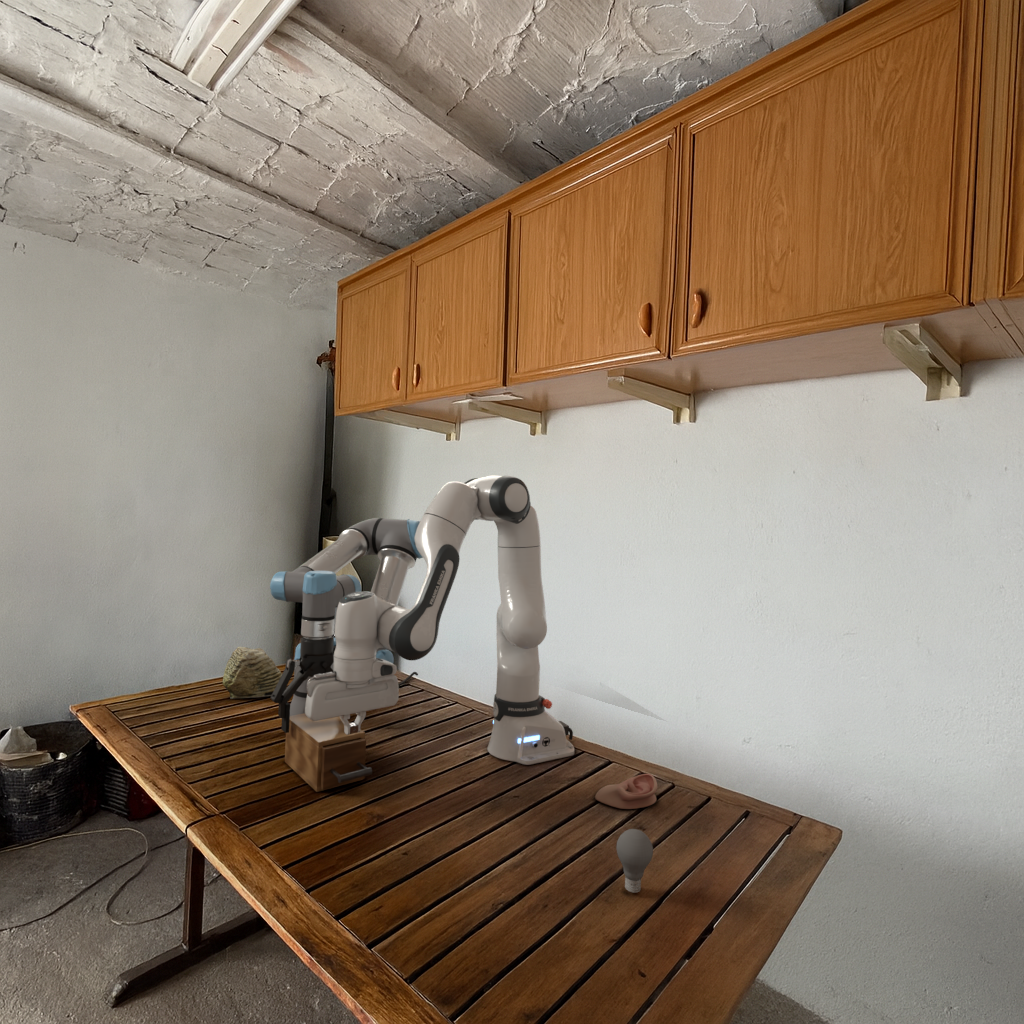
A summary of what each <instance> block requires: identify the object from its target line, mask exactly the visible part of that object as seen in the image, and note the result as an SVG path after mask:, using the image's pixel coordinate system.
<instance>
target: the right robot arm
mask: <svg viewBox="0 0 1024 1024" xmlns="http://www.w3.org/2000/svg"><path fill="white" fill-rule="evenodd" d="M531 503H532V502H531V497H530V492H529V489H528V487H527V485H526V484H525V482H524V481H523V480H522V479H521V478H518V477H516V476H512V475H487V476H483V477H476V478H474V477H473V478H470V479H468V480H466V481H465V482H461V481H448V482H446V483H445V484H444V485H443V486H442V487H441V488H440V489H439V490H438V492H437V493H436V494H435V495H434V497H433V498H432V500H431V501H430V503H429V505H428V506H427V508H426V510H425V512H424V514H423V515H422V517H421V519H420V520H419V521H420V523H419V525H418V527H417V530H416V533H415V537H414V539H415V545H416V548H417V550H418V552H419V553H420V555H421V556H422V557H423V558H422V559H424V560H425V563H426V574H425V576H424V579H423V582H422V585H421V587H420V590H419V592H418V595H417V597H416V600H415V602H414V604H413V605H412V607H410V608H406V607H404V606H401V605H399V604H398V605H395V604H392V603H389V602H387V601H384V600H382V599H380V598H379V597H377V596H376V595H375V594H374V593H373V592H371V591H369V590H368V591H366V590H365V591H362V590H361V592H354V593H350V594H347V595H345V596H344V597H342V598H341V600H340V601H339V604H338V607H336V611H335V623H334V638H335V639H336V648H335V651H334V663H333V672H327V673H324V674H316V675H314V677H312V678H310V679H309V681H308V682H307V698H306V705H305V714H306V716H307V717H308V718H309V719H311V720H312V721H318V720H323V719H328V718H333V717H338V716H340V719H341V721H342V722H343V724H344V732H345V734H347V735H349V734H353V733H358V732H360V729H361V725H362V724H363V722H364V720H365V718H366V717H367V712H368V711H373V710H379V709H383V708H388V707H389V708H390V707H394V706H396V705H397V703H398V701H399V699H400V696H399V694H400V692H399V691H400V690H399V689H400V686H398V684H399V679H398V677H397V675H396V674H397V671H398V667H397V665H396V664H395V663H391V662H389V661H386V660H383V659H379V658H376V651H377V649H378V648H383V647H384V648H386V649H388V650H390V651H391V652H392V653H394V654H396V655H397V656H399V657H400V658H402V659H403V660H407V661H418V660H420V659H423V658H425V657H426V656H427V655H428V654H429V653H431V651H432V650H433V648H434V647H435V646H436V645H435V644H436V642H437V641H438V635H439V630H440V629H439V627H440V621H441V618H442V615H443V612H444V609H445V606H446V603H447V601H448V598H449V595H450V593H451V591H452V587H453V585H454V582H455V579H456V577H457V573H458V570H459V566H460V560H461V559H460V552H461V549H462V545H463V543H464V540H465V539H466V536H467V534H468V532H469V530H470V528H471V525H472V524H473V522H474V521H475V520H476V521H478V520H480V521H486V522H494V524H495V526H496V529H497V577H498V583H499V595H500V604H499V606H498V607H497V611H496V627H495V628H496V687H495V688H496V689H495V694H494V696H493V703H492V704H493V705H492V707H493V708H492V714H493V720H492V730H491V735H490V738H489V741H488V744H487V752H488V753H489V754H490V755H491V756H493V757H495V758H497V759H500V760H504V761H510V762H515V763H518V764H522V765H524V766H530V765H534V764H539V763H545V762H549V761H554V760H558V759H562V758H567V757H572V756H574V755H575V754H576V753H575V752H576V751H575V747H574V745H573V743H572V742H571V741H572V740H573V736H574V731H573V729H572V728H571V727H570V725H568V724H567V723H565V722H563V721H562V720H558V719H557V718H556V717H554V716H553V715H552V714H551V713H550V712H548V711H547V710H550V709H551V708H552V707H553V702H552V701H551V700H550V699H548V698H545V697H543V696H542V695H540V680H541V662H540V656H539V655H540V653H539V646H540V645H541V644H542V643H543V641H544V640H545V638H546V637H547V633H548V623H547V614H546V612H547V611H546V602H545V593H544V586H543V579H542V549H541V547H542V545H541V531H540V524H539V518H538V514H537V510H536V509H535V508H534V506H532V504H531ZM312 679H315V680H312ZM546 709H547V710H546ZM354 714H356V718H355V720H354V721H353V722H351V723H350V724H349V722H350V721H349V720H350V719H351V715H354ZM348 721H349V722H348ZM567 736H568V739H567Z"/></svg>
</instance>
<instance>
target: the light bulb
mask: <svg viewBox="0 0 1024 1024" xmlns="http://www.w3.org/2000/svg"><path fill="white" fill-rule="evenodd" d="M615 849H616V854H617V857H618V859H619V861H620V863H621V865H622V867H623V873H624V874H623V875H624V876H625V878H624V888H625V890H627V891H628V892H630V893H634V894H635V893H639V892H640V891H641V889H642V887H641V886H642V879H643V877H644V875H645V871H646V868H647V867H648V866H649V864H650V863H651V861H652V859H653V855H654V847H653V843H652V841H651V838H649V836H648V835H647V834H646V833H645V832H643V831H642V830H641V829H636V828H629V829H627V830H625V831H623V832H622V833H621V834H620V835H619V837H618V839H617V841H616V847H615Z"/></svg>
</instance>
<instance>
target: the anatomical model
mask: <svg viewBox="0 0 1024 1024" xmlns="http://www.w3.org/2000/svg"><path fill="white" fill-rule="evenodd" d="M657 791H658V782H657V779H656V777H655V776H654V775H653V774H651V773H642V774H639V775H635V776H632V777H630V778H628V779H626V780H624V781H622V782H620V783H616V784H607V785H605V786H602V787H601V788H600V789H599V790H598V791H596V793H595V795H594V798H595V800H596V801H597V802H599V803H602V804H604V805H607V806H610V807H613V808H617V809H621V810H632V809H640V808H646V807H650V806H652V805H654V804H655V803H656V802H657V796H656V792H657Z"/></svg>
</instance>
